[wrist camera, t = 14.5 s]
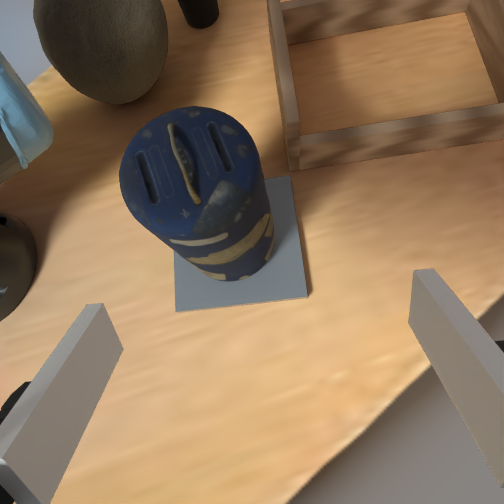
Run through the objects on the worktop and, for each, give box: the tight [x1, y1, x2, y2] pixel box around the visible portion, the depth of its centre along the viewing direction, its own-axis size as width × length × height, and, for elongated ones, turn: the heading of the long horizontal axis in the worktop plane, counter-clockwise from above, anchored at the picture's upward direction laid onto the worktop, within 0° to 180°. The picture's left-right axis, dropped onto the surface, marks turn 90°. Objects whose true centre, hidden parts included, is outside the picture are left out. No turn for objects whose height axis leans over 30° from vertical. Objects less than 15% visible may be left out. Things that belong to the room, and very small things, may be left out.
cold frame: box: [267, 0, 504, 172], centre depth 37 cm, size 26×20×9 cm
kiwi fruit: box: [33, 0, 168, 104], centre depth 40 cm, size 14×14×15 cm
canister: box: [119, 106, 275, 282], centre depth 29 cm, size 10×10×18 cm
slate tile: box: [174, 175, 308, 313], centre depth 38 cm, size 14×14×1 cm
